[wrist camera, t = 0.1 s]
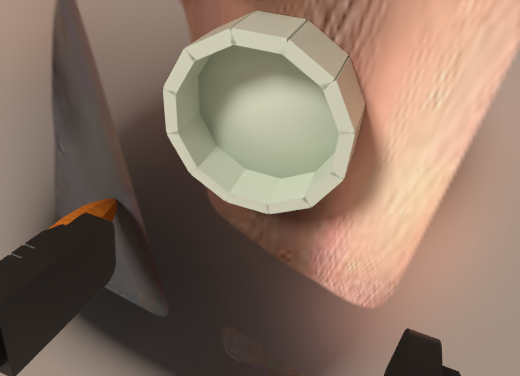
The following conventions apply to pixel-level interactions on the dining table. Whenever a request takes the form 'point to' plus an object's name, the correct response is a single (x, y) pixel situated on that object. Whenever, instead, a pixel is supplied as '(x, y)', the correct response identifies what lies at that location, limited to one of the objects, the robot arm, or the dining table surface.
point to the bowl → (265, 112)
